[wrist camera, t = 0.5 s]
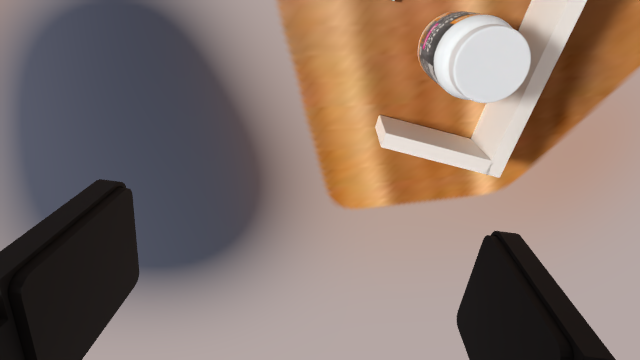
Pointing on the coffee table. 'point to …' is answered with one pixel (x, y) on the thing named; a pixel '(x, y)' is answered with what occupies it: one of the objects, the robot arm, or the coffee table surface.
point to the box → (497, 117)
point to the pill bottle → (474, 56)
